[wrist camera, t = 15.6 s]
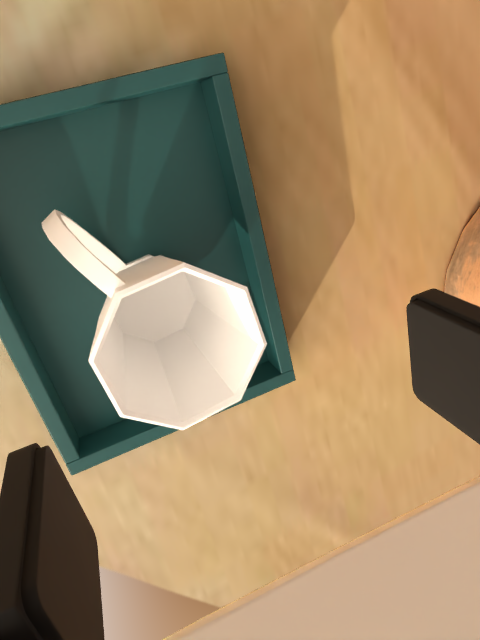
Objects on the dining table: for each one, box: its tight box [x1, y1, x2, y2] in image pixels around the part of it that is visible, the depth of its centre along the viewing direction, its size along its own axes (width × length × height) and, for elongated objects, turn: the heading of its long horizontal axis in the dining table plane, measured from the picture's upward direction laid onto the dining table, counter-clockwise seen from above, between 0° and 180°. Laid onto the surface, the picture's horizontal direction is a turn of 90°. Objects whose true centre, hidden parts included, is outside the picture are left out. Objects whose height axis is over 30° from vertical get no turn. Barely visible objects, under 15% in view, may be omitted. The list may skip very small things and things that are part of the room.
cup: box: [42, 209, 267, 430], centre depth 21 cm, size 7×10×8 cm
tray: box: [0, 53, 296, 475], centre depth 24 cm, size 18×14×3 cm
